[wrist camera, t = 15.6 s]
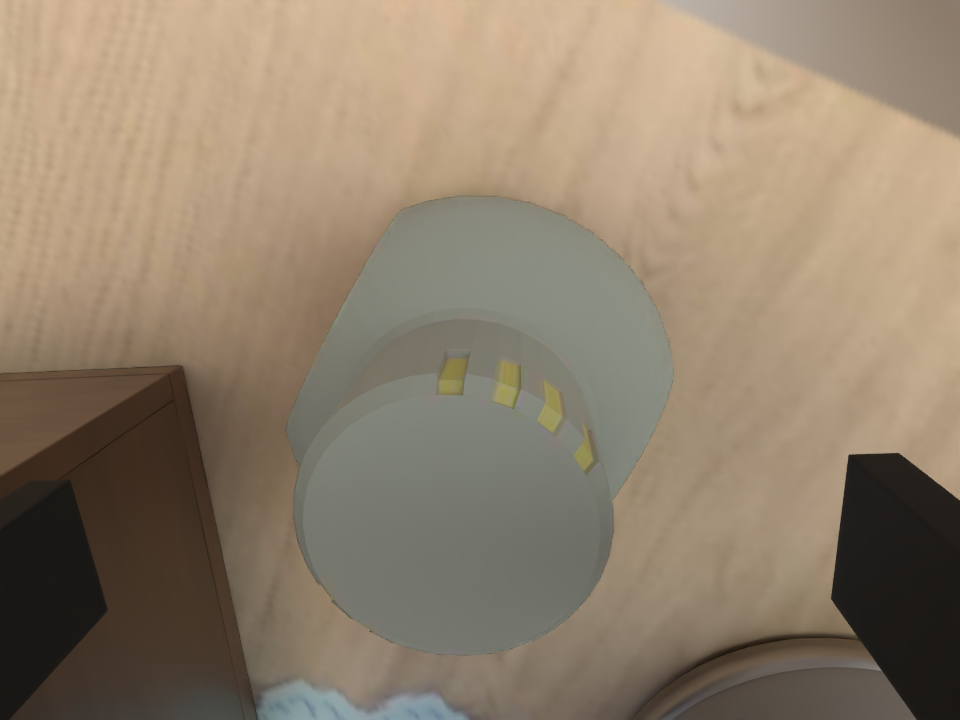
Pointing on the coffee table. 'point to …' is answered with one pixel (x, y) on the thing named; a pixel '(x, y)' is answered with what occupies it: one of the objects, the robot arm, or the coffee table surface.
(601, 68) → the coffee table surface
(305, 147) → the coffee table surface
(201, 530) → the chest
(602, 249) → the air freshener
